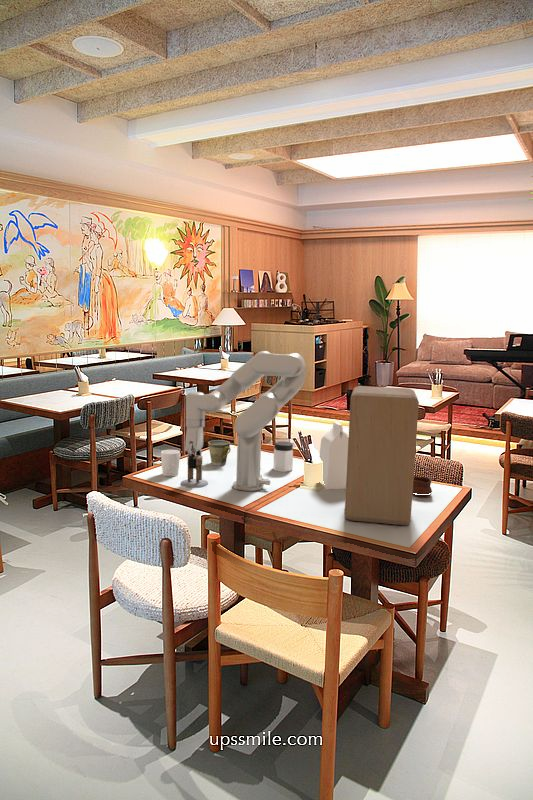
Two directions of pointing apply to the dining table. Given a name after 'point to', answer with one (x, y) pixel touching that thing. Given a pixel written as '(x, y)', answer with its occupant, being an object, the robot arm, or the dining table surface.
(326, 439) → the milk
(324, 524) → the dining table surface
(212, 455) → the ceramic cup
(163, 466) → the white cup
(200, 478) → the stool mini
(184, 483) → the felt mat
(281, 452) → the jar
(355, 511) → the block
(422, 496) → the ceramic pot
